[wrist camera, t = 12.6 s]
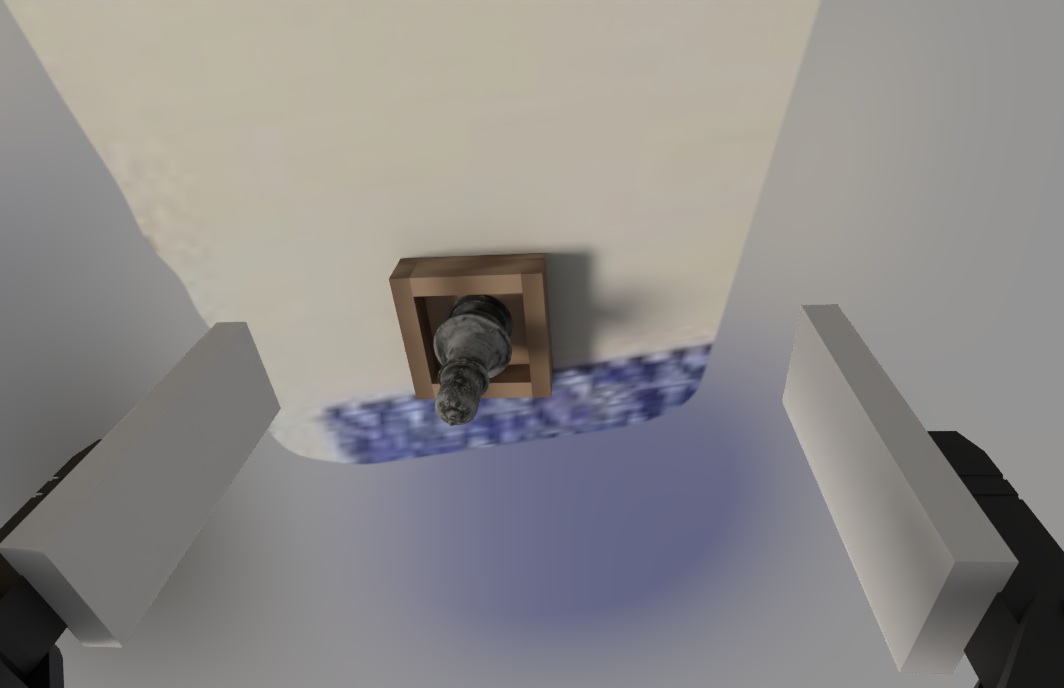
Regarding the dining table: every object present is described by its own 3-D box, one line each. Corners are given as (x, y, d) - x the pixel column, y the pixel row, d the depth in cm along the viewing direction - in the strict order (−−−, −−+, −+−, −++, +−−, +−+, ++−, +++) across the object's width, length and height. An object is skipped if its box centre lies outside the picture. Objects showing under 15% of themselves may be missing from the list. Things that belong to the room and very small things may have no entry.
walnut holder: (544, 253, 44) (542, 273, 41) (553, 372, 50) (551, 397, 47) (400, 258, 45) (388, 278, 42) (425, 374, 51) (416, 399, 48)
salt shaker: (525, 303, 46) (508, 403, 36) (505, 361, 49) (484, 468, 39) (451, 281, 45) (413, 376, 35) (436, 341, 48) (397, 445, 38)
